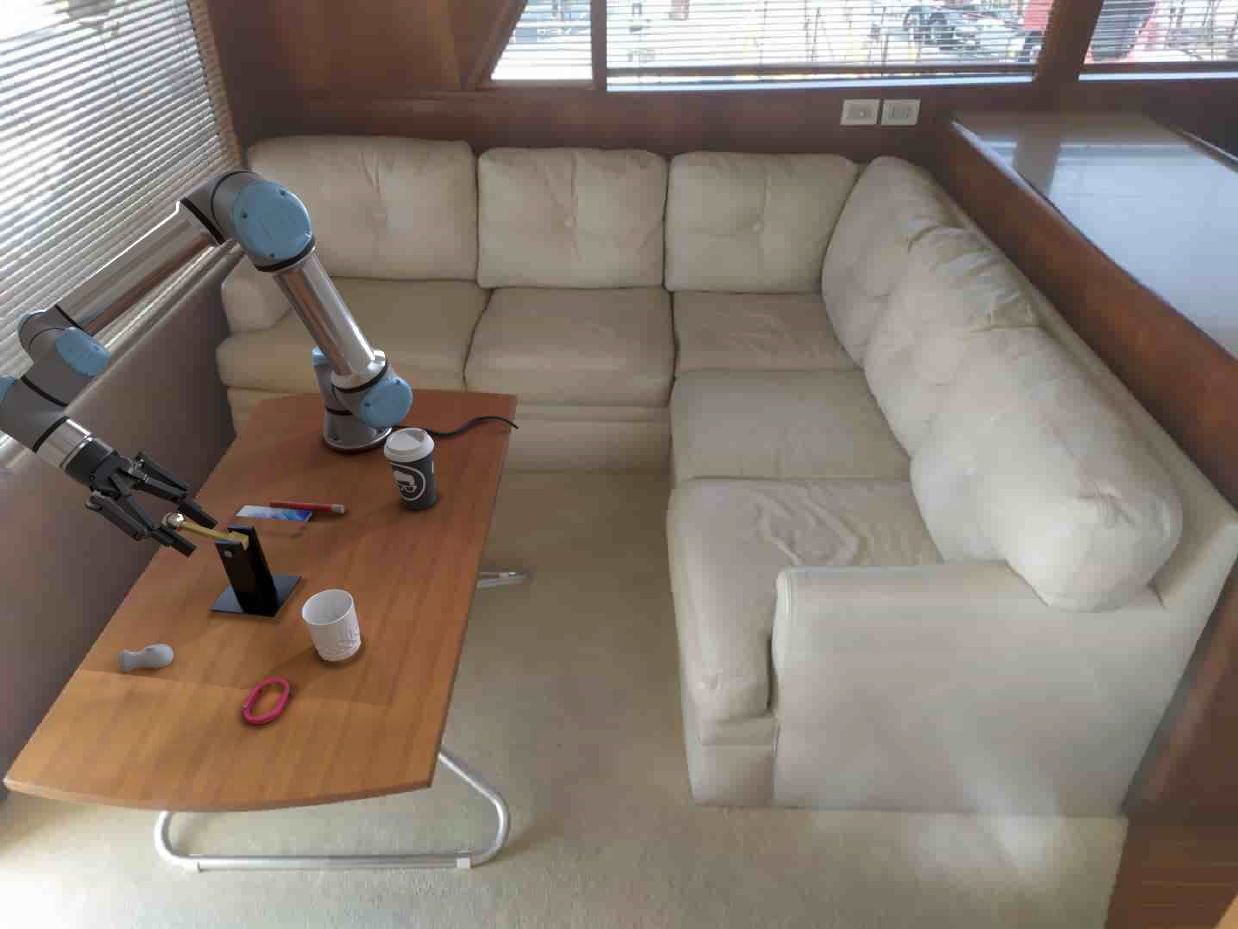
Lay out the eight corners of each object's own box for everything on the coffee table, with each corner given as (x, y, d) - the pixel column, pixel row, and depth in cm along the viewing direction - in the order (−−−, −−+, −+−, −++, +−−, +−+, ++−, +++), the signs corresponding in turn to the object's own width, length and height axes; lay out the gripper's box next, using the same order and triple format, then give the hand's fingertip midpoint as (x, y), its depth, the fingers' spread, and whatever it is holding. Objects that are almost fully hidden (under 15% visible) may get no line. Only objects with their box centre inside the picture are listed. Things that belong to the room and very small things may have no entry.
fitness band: (264, 681, 136) (261, 674, 135) (298, 685, 135) (296, 678, 134) (237, 722, 129) (234, 716, 128) (273, 727, 128) (270, 721, 127)
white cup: (314, 640, 143) (299, 597, 137) (362, 627, 145) (350, 584, 139) (318, 674, 136) (303, 630, 131) (368, 660, 139) (355, 616, 133)
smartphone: (243, 504, 172) (313, 509, 170) (245, 507, 173) (314, 513, 170) (224, 526, 166) (296, 532, 164) (225, 529, 167) (297, 536, 165)
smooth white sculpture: (181, 658, 142) (169, 675, 137) (131, 662, 141) (117, 679, 136) (176, 635, 140) (164, 651, 135) (126, 639, 140) (111, 655, 135)
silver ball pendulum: (158, 533, 143) (156, 518, 141) (170, 520, 146) (169, 504, 144) (239, 559, 143) (239, 544, 141) (250, 545, 146) (250, 530, 144)
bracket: (212, 615, 148) (184, 550, 139) (241, 576, 156) (217, 512, 147) (276, 622, 146) (252, 557, 138) (303, 582, 154) (282, 518, 146)
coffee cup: (448, 507, 171) (436, 446, 162) (400, 520, 168) (386, 457, 159) (438, 481, 178) (426, 421, 169) (392, 492, 175) (378, 431, 167)
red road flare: (341, 515, 169) (339, 508, 168) (270, 510, 171) (268, 503, 170) (345, 509, 171) (343, 503, 170) (274, 505, 173) (272, 498, 172)
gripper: (108, 433, 147) (223, 515, 154) (29, 501, 132) (161, 588, 139) (124, 409, 143) (242, 494, 150) (45, 475, 128) (180, 566, 135)
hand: (203, 539), depth 145 cm, fingers open, 6 cm apart
